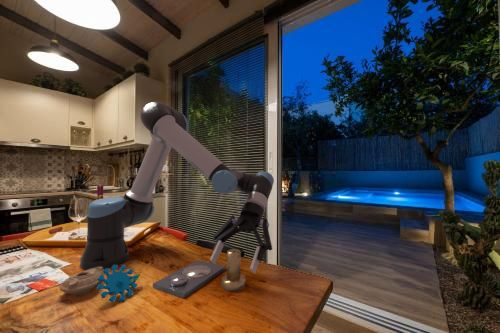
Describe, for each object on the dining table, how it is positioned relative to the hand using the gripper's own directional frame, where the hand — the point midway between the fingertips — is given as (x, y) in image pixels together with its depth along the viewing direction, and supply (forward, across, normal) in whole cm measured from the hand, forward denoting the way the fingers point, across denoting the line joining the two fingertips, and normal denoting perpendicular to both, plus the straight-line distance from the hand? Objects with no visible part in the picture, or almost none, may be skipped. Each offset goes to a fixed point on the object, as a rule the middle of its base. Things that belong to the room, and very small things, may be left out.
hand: (231, 266), depth 64 cm
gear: (+17, +25, +8) cm, 31 cm away
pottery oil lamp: (+18, +36, +9) cm, 42 cm away
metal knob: (+3, 0, -5) cm, 6 cm away
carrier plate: (+5, +14, -4) cm, 16 cm away
